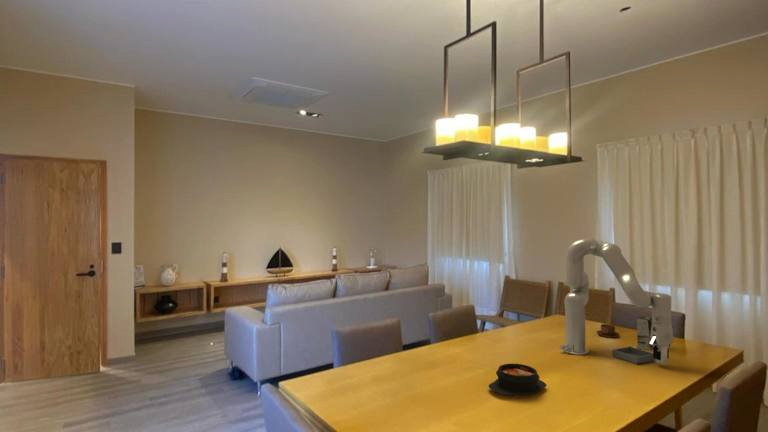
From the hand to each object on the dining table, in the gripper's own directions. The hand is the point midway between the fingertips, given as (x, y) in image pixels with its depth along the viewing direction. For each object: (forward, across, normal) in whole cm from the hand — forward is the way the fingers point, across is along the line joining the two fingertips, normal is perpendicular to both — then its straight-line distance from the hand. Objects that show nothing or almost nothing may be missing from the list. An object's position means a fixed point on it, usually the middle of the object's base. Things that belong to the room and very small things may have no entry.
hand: (660, 358), depth 197 cm
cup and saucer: (+5, +23, +47) cm, 52 cm away
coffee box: (+4, +21, +22) cm, 31 cm away
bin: (+4, -2, +12) cm, 13 cm away
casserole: (+5, -81, +6) cm, 81 cm away
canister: (+2, 0, 0) cm, 2 cm away
